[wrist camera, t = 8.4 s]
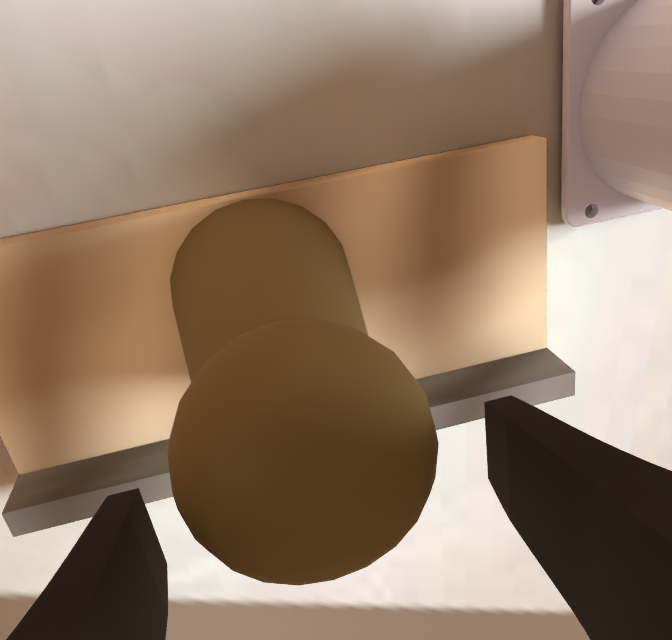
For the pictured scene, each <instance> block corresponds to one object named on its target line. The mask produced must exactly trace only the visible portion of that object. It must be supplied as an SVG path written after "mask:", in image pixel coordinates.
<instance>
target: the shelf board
mask: <svg viewBox="0 0 672 640" xmlns="http://www.w3.org/2000/svg"><path fill="white" fill-rule="evenodd" d="M244 199H278V200H281V201H285V202H288V203H292V204H295V205H299V206H302V207H304V208H305V209H307V210H308V211H310V212H311V213H313V214H314V215H315V216H317V217H318V218H320V219H321V220H323V221H324V222H326V224H327V225H328V226H329V228H330V229H331V230H332V232H333V233H334V234H335V236H336V237H337V238H338V240H339V241H340V242H341V244H342V246H343V249H344V252H345V255H346V258H347V261H348V264H349V268H350V271H351V274H352V278H353V282H354V285H355V289H356V293H357V296H358V300H359V303H360V307H361V311H362V314H363V318H364V322H365V325H366V329H367V332H368V336H369V337H371V338H372V339H374V340H376V341H377V342H379V343H381V344H382V345H384V346H385V347H387V348H389V349H390V350H392V351H394V352H395V354H396V355H397V356H398V357H399V359H400V360H401V361H402V363H403V364H404V365H405V366H406V368H407V369H408V370H409V372H410V373H411V374H412V375H413V377H414V378H415V379H416V381H417V382H418V384H419V385H420V386H421V388H422V389H423V391H424V392H425V394H426V397H427V400H428V404H429V407H430V411H431V414H432V418H433V421H434V425H435V429H436V430H438V429H442V428H446V427H450V426H454V425H458V424H462V423H466V422H470V421H474V420H478V419H482V418H485V407H484V402H486V401H490V400H494V399H498V398H502V397H506V396H510V395H512V396H514V397H516V398H518V399H520V400H522V401H524V402H526V403H528V404H530V405H532V406H533V405H537V404H541V403H545V402H549V401H553V400H557V399H561V398H565V397H569V396H573V395H575V371H574V370H572V369H571V368H570V367H569V366H568V365H567V364H565V363H564V362H563V361H562V360H561V359H559V358H558V357H557V356H556V355H555V354H554V353H552V352H551V351H550V350H549V349H548V348H547V138H542V137H538V136H534V135H529V136H524V137H519V138H514V139H509V140H504V141H499V142H494V143H488V144H483V145H478V146H473V147H468V148H463V149H458V150H453V151H448V152H442V153H437V154H432V155H427V156H422V157H417V158H412V159H407V160H402V161H397V162H391V163H386V164H381V165H376V166H371V167H366V168H361V169H356V170H351V171H345V172H340V173H335V174H330V175H325V176H320V177H315V178H310V179H305V180H299V181H294V182H289V183H284V184H279V185H274V186H269V187H264V188H259V189H254V190H248V191H243V192H238V193H233V194H228V195H223V196H218V197H213V198H208V199H202V200H197V201H192V202H187V203H182V204H177V205H172V206H167V207H162V208H156V209H151V210H146V211H141V212H136V213H131V214H126V215H121V216H116V217H111V218H105V219H100V220H95V221H90V222H85V223H80V224H75V225H70V226H65V227H59V228H54V229H49V230H44V231H39V232H34V233H29V234H24V235H19V236H13V237H8V238H3V239H0V436H1V439H2V441H3V443H4V445H5V447H6V449H7V451H8V453H9V455H10V457H11V459H12V462H13V464H14V466H15V468H16V470H17V472H18V474H19V476H18V478H17V481H16V483H15V485H14V487H13V490H12V492H11V494H10V496H9V499H8V501H7V503H6V505H5V508H4V510H3V512H2V515H3V517H4V519H5V521H6V523H7V525H8V527H9V529H10V531H11V533H12V535H13V537H15V536H19V535H23V534H27V533H31V532H35V531H39V530H43V529H47V528H51V527H55V526H59V525H63V524H67V523H71V522H75V521H78V520H82V519H86V518H90V517H93V516H94V515H95V513H96V512H97V510H98V509H99V507H100V506H101V504H102V503H103V502H104V500H105V499H106V497H107V496H108V495H112V494H116V493H120V492H124V491H129V490H133V489H137V488H139V490H140V493H141V495H142V498H143V501H144V503H145V504H146V503H150V502H154V501H158V500H162V499H166V498H169V497H173V493H172V488H171V480H170V472H169V464H168V456H167V455H168V447H169V438H170V434H171V430H172V427H173V423H174V419H175V415H176V412H177V408H178V404H179V401H180V399H181V398H182V396H183V395H184V393H185V391H186V390H187V388H188V387H189V385H190V384H191V381H190V376H189V372H188V368H187V364H186V360H185V356H184V352H183V347H182V343H181V339H180V335H179V331H178V327H177V322H176V318H175V314H174V310H173V305H172V295H171V286H170V277H171V273H172V269H173V264H174V260H175V256H176V252H177V251H178V249H179V248H180V246H181V245H182V243H183V242H184V240H185V238H186V237H187V235H188V234H189V232H190V231H191V229H192V228H193V227H194V226H196V225H197V224H198V223H199V222H201V221H202V220H203V219H205V218H206V217H207V216H208V215H210V214H211V213H212V212H213V211H215V210H216V209H219V208H222V207H225V206H228V205H230V204H233V203H236V202H239V201H241V200H244Z"/></svg>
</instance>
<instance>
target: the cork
mask: <svg viewBox="0 0 672 640" xmlns="http://www.w3.org/2000/svg"><path fill="white" fill-rule="evenodd" d="M170 286H171V295H172V305H173V310H174V314H175V318H176V322H177V327H178V331H179V335H180V339H181V343H182V347H183V352H184V356H185V360H186V364H187V368H188V372H189V376H190V381H191V384H190V385H189V387H188V388H187V390H186V391H185V393H184V395H183V396H182V398H181V399H180V401H179V404H178V408H177V412H176V415H175V419H174V423H173V427H172V430H171V434H170V438H169V447H168V455H167V456H168V464H169V472H170V480H171V488H172V493H173V496H174V499H175V502H176V505H177V509H178V511H179V512H180V514H181V516H182V518H183V519H184V521H185V523H186V525H187V526H188V528H189V530H190V531H191V533H192V535H193V537H194V538H195V540H196V541H198V542H199V543H200V544H201V545H202V546H203V547H204V548H206V549H207V550H208V551H209V552H210V553H212V554H213V555H214V556H215V557H217V558H218V559H219V560H220V561H222V562H223V563H224V564H225V565H226V566H228V567H229V568H230V569H231V570H233V571H235V572H238V573H240V574H243V575H246V576H248V577H251V578H254V579H256V580H259V581H262V582H266V583H277V584H289V585H304V584H311V583H317V582H324V581H330V580H335V579H337V578H340V577H342V576H345V575H347V574H350V573H352V572H355V571H357V570H360V569H362V568H365V567H367V566H369V565H370V564H372V563H373V562H374V561H376V560H377V559H379V558H380V557H382V556H383V555H384V554H386V553H387V552H389V551H390V550H392V549H393V548H394V547H396V546H397V544H398V543H399V542H400V541H401V540H402V539H403V537H404V536H405V535H406V534H407V533H408V532H409V530H410V529H411V528H412V527H413V526H414V525H415V523H416V522H417V521H418V519H419V516H420V514H421V512H422V510H423V508H424V505H425V503H426V501H427V499H428V497H429V494H430V492H431V489H432V486H433V483H434V480H435V475H436V464H437V454H438V439H437V434H436V429H435V425H434V421H433V418H432V414H431V411H430V407H429V404H428V400H427V397H426V394H425V392H424V391H423V389H422V388H421V386H420V385H419V384H418V382H417V381H416V379H415V378H414V377H413V375H412V374H411V373H410V372H409V370H408V369H407V368H406V366H405V365H404V364H403V363H402V361H401V360H400V359H399V357H398V356H397V355H396V354H395V352H394V351H392V350H390V349H389V348H387V347H385V346H384V345H382V344H381V343H379V342H377V341H376V340H374V339H372V338H371V337H369V336H368V332H367V329H366V325H365V322H364V318H363V314H362V311H361V307H360V303H359V300H358V296H357V293H356V289H355V285H354V282H353V278H352V274H351V271H350V268H349V264H348V261H347V258H346V255H345V252H344V249H343V246H342V244H341V242H340V241H339V240H338V238H337V237H336V236H335V234H334V233H333V232H332V230H331V229H330V228H329V226H328V225H327V224H326V222H324V221H323V220H321V219H320V218H318V217H317V216H315V215H314V214H313V213H311V212H310V211H308V210H307V209H305V208H304V207H302V206H299V205H295V204H292V203H288V202H285V201H281V200H278V199H244V200H241V201H239V202H236V203H233V204H230V205H228V206H225V207H222V208H219V209H216V210H215V211H213V212H212V213H211V214H210V215H208V216H207V217H206V218H205V219H203V220H202V221H201V222H199V223H198V224H197V225H196V226H194V227H193V228H192V229H191V231H190V232H189V234H188V235H187V237H186V238H185V240H184V242H183V243H182V245H181V246H180V248H179V249H178V251H177V252H176V256H175V260H174V264H173V269H172V273H171V277H170Z"/></svg>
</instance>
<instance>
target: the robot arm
mask: <svg viewBox="0 0 672 640" xmlns="http://www.w3.org/2000/svg"><path fill="white" fill-rule="evenodd" d="M591 204H592V210H591V212H590V213H589V214H588V215H585V211H586V208H587V207H588V206H589V205H591ZM661 208H665V209H668V210H671V211H672V0H598V1H597V3H596V4H595V5H594V3H593V2H592V0H564V10H563V105H562V201H561V215H562V219H563V221H564V222H565V223H567V224H569V225H571V226H573V227H579V226H583V225H588V224H592V223H597V222H602V221H606V220H611V219H615V218H620V217H625V216H629V215H634V214H638V213H643V212H648V211H652V210H657V209H661ZM484 407H485V426H486V445H487V464H488V479H489V481H490V483H491V485H492V487H493V489H494V491H495V493H496V495H497V497H498V499H499V501H500V503H501V505H502V506H503V508H504V510H505V512H506V514H507V516H508V518H509V519H510V521H511V523H512V524H513V525H514V527H515V528H516V530H517V531H518V533H519V534H520V536H521V537H522V539H523V540H524V542H525V543H526V545H527V546H528V547H529V549H530V550H531V552H532V553H533V555H534V556H535V558H536V559H537V560H538V562H539V563H540V565H541V566H542V568H543V569H544V570H545V572H546V573H547V575H548V576H549V578H550V579H551V580H552V582H553V583H554V585H555V586H556V588H557V589H558V591H559V592H560V593H561V595H562V596H563V598H564V599H565V601H566V602H567V603H568V605H569V606H570V608H571V609H572V611H573V612H574V614H575V615H576V617H577V618H578V620H579V622H580V623H581V625H582V626H583V628H584V629H585V631H586V632H587V635H588V636H589V638H590V640H672V471H670V470H667V469H665V468H662V467H660V466H657V465H655V464H652V463H650V462H647V461H645V460H643V459H640V458H638V457H636V456H634V455H631V454H629V453H627V452H624V451H622V450H620V449H618V448H615V447H613V446H611V445H609V444H607V443H605V442H603V441H600V440H598V439H596V438H594V437H592V436H590V435H588V434H586V433H584V432H582V431H580V430H578V429H576V428H574V427H572V426H570V425H568V424H567V423H565V422H563V421H561V420H559V419H557V418H555V417H553V416H551V415H549V414H547V413H546V412H544V411H542V410H540V409H538V408H536V407H534V406H532V405H530V404H528V403H526V402H524V401H522V400H520V399H518V398H516V397H514V396H512V395H510V396H506V397H502V398H498V399H494V400H490V401H486V402H484ZM167 617H168V581H167V562H166V559H165V557H164V554H163V551H162V549H161V546H160V543H159V541H158V538H157V535H156V533H155V530H154V527H153V525H152V522H151V519H150V517H149V514H148V511H147V509H146V506H145V503H144V501H143V498H142V495H141V493H140V490H139V488H137V489H133V490H129V491H124V492H120V493H116V494H112V495H108V496H107V497H106V499H105V500H104V502H103V503H102V504H101V506H100V507H99V509H98V510H97V512H96V513H95V515H94V516H93V518H92V519H91V521H90V522H89V524H88V526H87V527H86V529H85V530H84V532H83V533H82V535H81V536H80V538H79V539H78V541H77V542H76V544H75V545H74V547H73V548H72V550H71V551H70V553H69V554H68V556H67V557H66V559H65V560H64V562H63V563H62V565H61V566H60V568H59V569H58V570H57V572H56V573H55V575H54V576H53V578H52V579H51V581H50V582H49V584H48V585H47V586H46V588H45V589H44V591H43V592H42V593H41V595H40V596H39V597H38V599H37V600H36V601H35V603H34V604H33V605H32V607H31V608H30V609H29V611H28V612H27V613H26V615H25V616H24V617H23V619H22V620H21V621H20V623H19V624H18V625H17V627H16V628H15V629H14V631H13V632H12V633H11V634H10V635H9V637H8V638H7V639H6V640H165V637H166V628H167Z"/></svg>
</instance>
